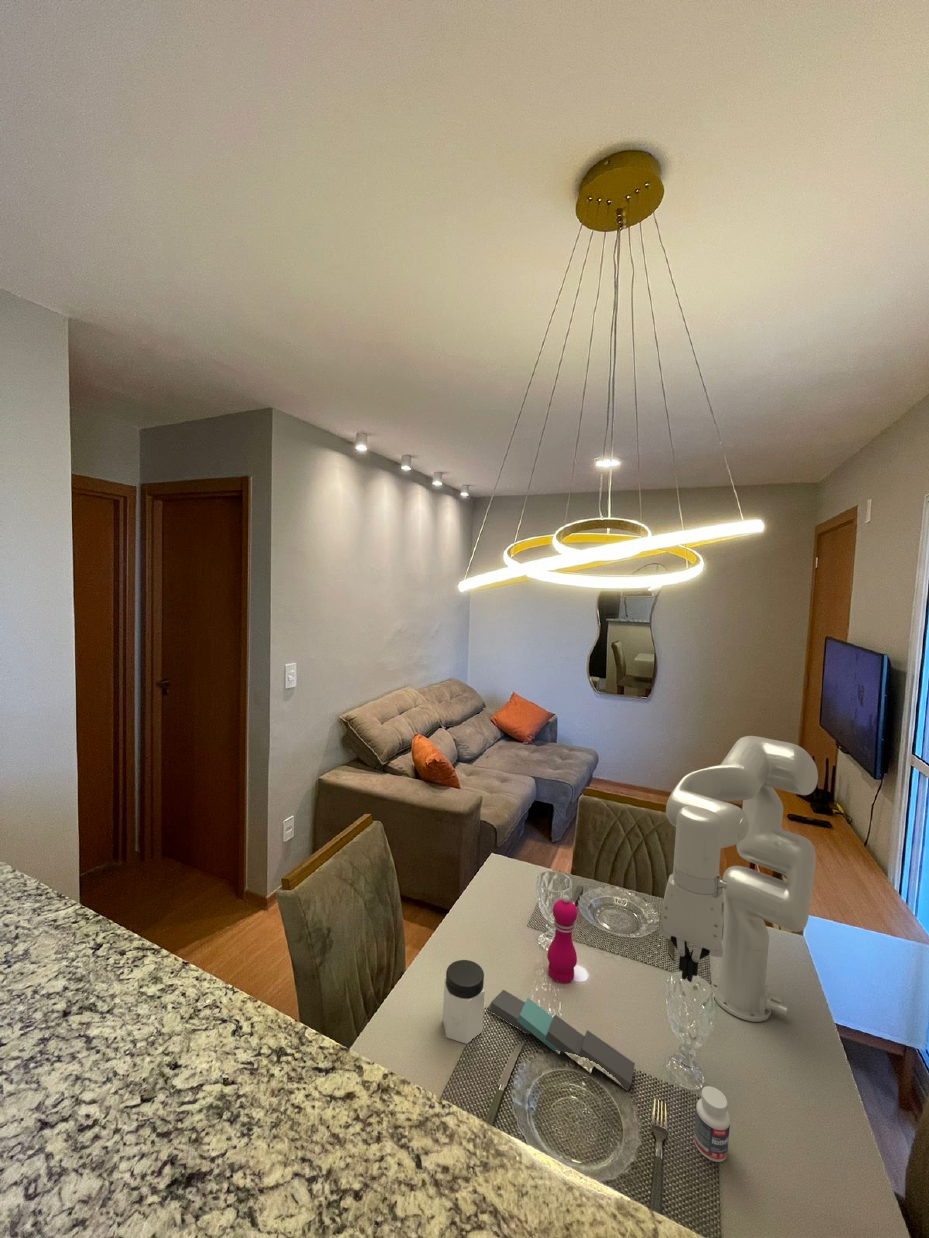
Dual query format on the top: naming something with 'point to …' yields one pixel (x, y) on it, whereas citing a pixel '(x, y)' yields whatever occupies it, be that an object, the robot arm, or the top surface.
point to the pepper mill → (563, 942)
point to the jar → (463, 1001)
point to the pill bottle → (712, 1125)
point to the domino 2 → (536, 1021)
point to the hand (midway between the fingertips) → (687, 975)
